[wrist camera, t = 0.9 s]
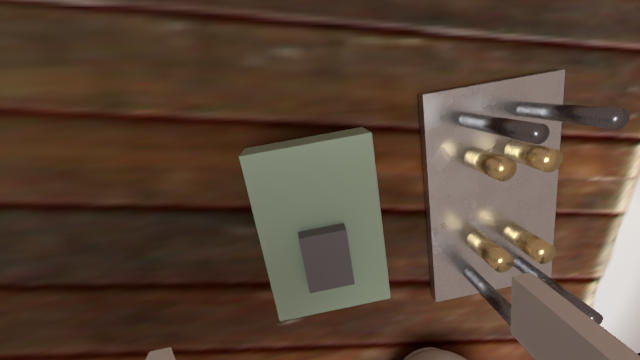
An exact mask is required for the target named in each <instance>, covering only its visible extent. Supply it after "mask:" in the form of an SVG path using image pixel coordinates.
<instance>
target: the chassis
mask: <svg viewBox="0 0 640 360" xmlns="http://www.w3.org/2000/svg"><path fill="white" fill-rule="evenodd" d="M564 78H565V70H552V71H547V72H541V73H536V74H530V75H524V76H519V77H513V78H507V79H502V80H496V81H491V82H485V83H479V84H474V85H468V86H462V87H457V88H451V89H446V90H440V91H434V92H429V93H423V94H418V107H419V122H420V136H421V151H422V166H423V181H424V195H425V210H426V225H427V240H428V254H429V269H430V284H431V296H432V297H433V299H434V300H435V302H439V301H444V300H448V299H453V298H458V297H462V296H467V295H472V294H477V293H480V294H481V295H482V296H483V297H484V298H485V299H486V300H487V301H488V302H489V304H490V305H491V306H492V307H493V308H494V309H495V310H496V311H497V312H498V313H499V314H500V315H501V316H502V318H503V319H504V320H505V321H506V322H507V323H508V324H509V325H510V326H511V304H510V303H509V302H508V301H507V300H506V299H505V298H504V297H503V296H502V295H501V294H500V293H499V292H498V291H497V290H496V289H500V288H505V287H510V286H512V276H514V275H519V274H524V273H529V272H531V273H532V274H534V275H535V276H536V277H538V278H539V279H540V280H542V281H543V282H544V283H545V284H547V285H548V286H549V287H551V288H552V289H553V290H555V291H556V292H557V293H559V294H560V295H561V296H562V297H564V298H565V299H566V300H568V301H569V302H570V303H572V304H573V305H574V306H575V307H577V308H578V309H579V310H581V311H582V312H583V313H585V314H586V315H587V316H588V317H590V318H591V319H592V320H594V321H595V322H596V323H598V324H600V323H601V322H602V320H603V317H602V315H600V314H599V313H598V312H596V311H595V310H594V309H592V308H591V307H590V306H588V305H587V304H585V303H584V302H583V301H581V300H580V299H579V298H577V297H576V296H574V295H573V294H572V293H570V292H569V291H568V290H566V289H565V288H564V287H562V286H561V285H559V284H558V283H557V282H555V281H554V280H553V279H551V270H552V260H553V258H554V257H555V255H556V249H555V247H554V246H553V240H554V226H555V211H556V196H557V181H558V168H559V167H560V165H561V163H562V160H563V156H562V153H561V152H560V137H561V122H566V123H573V124H581V125H588V126H596V127H603V128H610V129H621V128H623V127H624V126H625V125H626V124H627V122H628V120H629V112H628V111H627V110H626V109H619V108H605V107H591V106H577V105H563V93H564Z"/></svg>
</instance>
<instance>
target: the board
mask: <svg viewBox="0 0 640 360" xmlns="http://www.w3.org/2000/svg"><path fill="white" fill-rule="evenodd" d="M239 159H240V163H241V167H242V171H243V175H244V179H245V183H246V187H247V191H248V195H249V200H250V204H251V208H252V212H253V216H254V220H255V224H256V228H257V232H258V236H259V240H260V244H261V248H262V252H263V256H264V260H265V264H266V268H267V272H268V276H269V280H270V284H271V288H272V292H273V296H274V300H275V304H276V308H277V312H278V316H279V320H280V321H284V320H289V319H294V318H299V317H303V316H308V315H313V314H318V313H323V312H327V311H332V310H337V309H342V308H346V307H351V306H356V305H361V304H365V303H370V302H375V301H380V300H384V299H389V298H391V297H390V288H389V279H388V271H387V262H386V253H385V244H384V236H383V227H382V218H381V210H380V201H379V192H378V183H377V175H376V166H375V157H374V149H373V140H372V132H370V131H368V130H366V129H365V128H363V127H360V128H354V129H349V130H343V131H338V132H332V133H327V134H321V135H316V136H310V137H305V138H299V139H294V140H288V141H283V142H277V143H272V144H266V145H260V146H255V147H249V148H244V150H243V151H242V153H241V154H240V156H239Z"/></svg>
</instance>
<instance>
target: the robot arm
mask: <svg viewBox="0 0 640 360" xmlns="http://www.w3.org/2000/svg"><path fill="white" fill-rule="evenodd" d="M510 333H511V334H512V335H513V336H514V337H515V338H516V339H517V341H518V342H519V343H520V344H521V345H522V346H523V347H524V348H525V349H526V351H527V352H528V353H529V354H530V355H531V356H532V357H533V358H534V359H535V360H640V353H638V354H637V353H635V352H634V351H633V350H631V349H630V348H629V347H627V346H626V345H625V344H623V343H622V342H621V341H620V340H618V339H617V338H616V337H614V336H613V335H612V334H611V333H609V332H608V331H607V330H605V329H604V328H603V327H601V326H600V325H599V324H598V323H596V322H595V321H594V320H592V319H591V318H590V317H588V316H587V315H586V314H585V313H583V312H582V311H581V310H579V309H578V308H577V307H575V306H574V305H573V304H572V303H570V302H569V301H568V300H566V299H565V298H564V297H562V296H561V295H560V294H559V293H557V292H556V291H555V290H553V289H552V288H551V287H549V286H548V285H547V284H545V283H544V282H543V281H542V280H540V279H539V278H538V277H536V276H535V275H534V274H532V273H531V272H529V273H524V274H519V275H514V276H512V290H511V330H510ZM146 360H176V359H175V357H174V354H173V352H172V349H171V347H169V348H165V349H160V350H155V351H150V352H149V354H148V356H147V358H146Z"/></svg>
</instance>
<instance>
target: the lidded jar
mask: <svg viewBox="0 0 640 360" xmlns="http://www.w3.org/2000/svg"><path fill="white" fill-rule="evenodd" d="M403 360H467V359H465V358H464V357H462V356H460V355H458V354H456V353H453V352H450V351H446V350H441V349H439V348H435V347H425V348H420V349H418V350H415V351H413V352H411V353H410V354H408V355H407V356H406V357H405V358H404V359H403Z"/></svg>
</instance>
